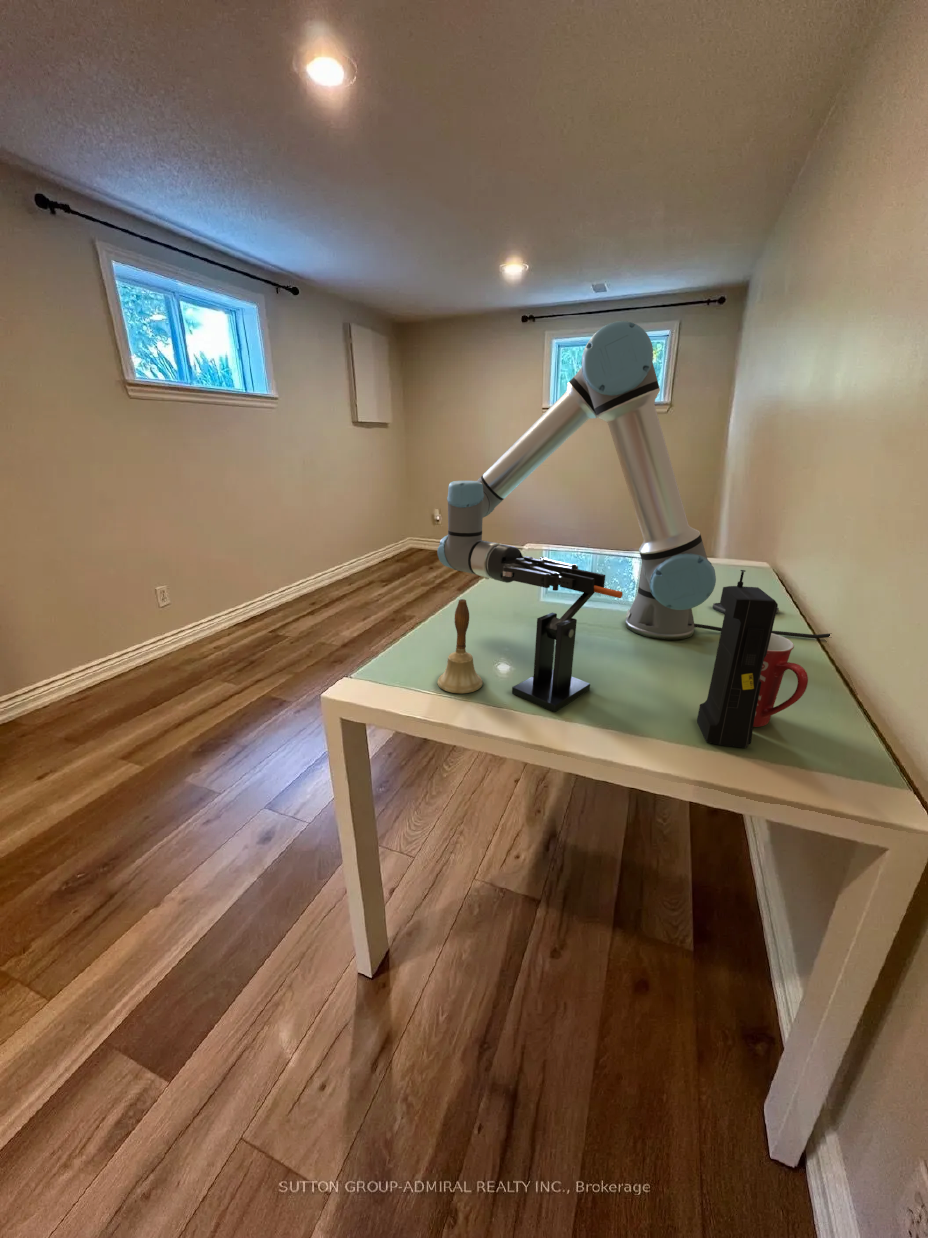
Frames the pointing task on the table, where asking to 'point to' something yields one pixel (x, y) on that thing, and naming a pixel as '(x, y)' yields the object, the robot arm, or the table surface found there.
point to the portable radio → (738, 666)
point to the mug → (777, 679)
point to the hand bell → (460, 659)
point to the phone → (720, 608)
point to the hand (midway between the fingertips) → (598, 584)
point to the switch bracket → (547, 683)
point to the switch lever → (552, 625)
